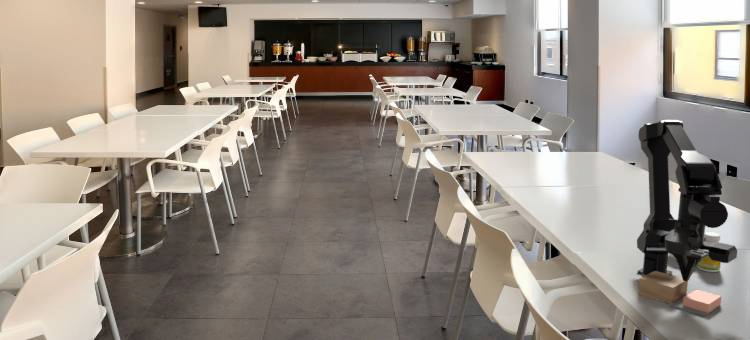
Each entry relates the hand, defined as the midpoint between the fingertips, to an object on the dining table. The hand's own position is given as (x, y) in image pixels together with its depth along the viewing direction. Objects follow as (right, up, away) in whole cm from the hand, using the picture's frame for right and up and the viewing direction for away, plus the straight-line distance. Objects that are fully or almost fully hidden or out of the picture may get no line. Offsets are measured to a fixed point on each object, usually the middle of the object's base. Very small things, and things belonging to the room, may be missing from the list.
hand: (685, 280), depth 151 cm
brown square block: (-3, -4, +5) cm, 7 cm away
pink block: (+3, -3, -3) cm, 5 cm away
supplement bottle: (+17, -1, +22) cm, 28 cm away
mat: (+1, -5, -2) cm, 6 cm away
